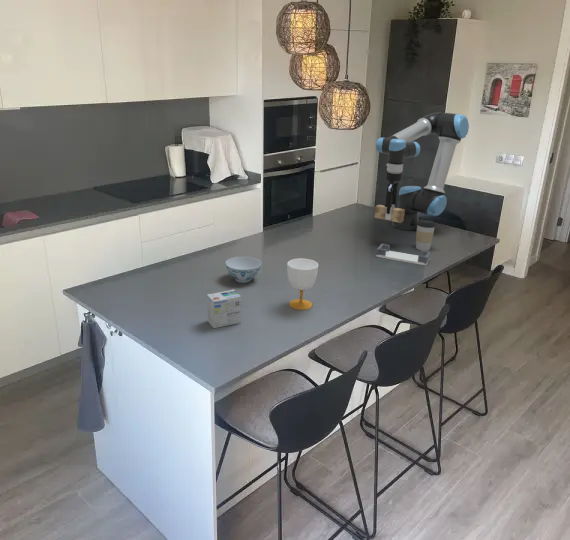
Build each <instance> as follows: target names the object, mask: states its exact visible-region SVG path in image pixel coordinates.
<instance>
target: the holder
mask: <svg viewBox="0 0 570 540" xmlns="http://www.w3.org/2000/svg"><path fill="white" fill-rule="evenodd" d="M390 247H391V244H385V243H381V244H380V245H379V246H378V247H377V248H376V255H375V257H377V258H381V259H388V260H392V261H396V262H397V261H398V262H404V263H410V264H414V265H420V266H427V265H428V263H429V262H430V259H431V254H432V251H430V250H428V251H422V250H420V251H421V253H420V254H418V255H417V254H410V253H405V252H400V251H399V252H398V251H394V250H390Z"/></svg>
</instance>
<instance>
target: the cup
mask: <svg viewBox="0 0 570 540" xmlns="http://www.w3.org/2000/svg"><path fill="white" fill-rule="evenodd" d="M286 268H287V269H286V270H287V279H288V281H289V284H290V285H291V287H292V288H294V289H295V290H297V291H299V298H298V299H293V300H291V301H289V303H288V305H289V307H290V308H292V309H295V310H299V311H305V310H306V311H307V310H309V309H311V308H312V307H313V303H312V302H311V301H309V300H307V299H303V294H304V291H306V290H307V291H308V290H310V289H311V288H312V287H313V286H314V285H315V283H316V280H317V276H318V272H319V263H318V262H317V261H315V260H313V259H309V258H292V259H290V260H289V261H287V263H286Z"/></svg>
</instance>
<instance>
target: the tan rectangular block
mask: <svg viewBox="0 0 570 540" xmlns="http://www.w3.org/2000/svg"><path fill="white" fill-rule="evenodd" d="M404 213H405V209H400V208H397V207H395V206H394V207H392V212H391V220H388V221H389V222H393V221H394V222H398V223H401V222H403V220H404ZM385 214H386V207H385V205H384V204H383V205H382V204H377V205H375V208H374V215H373V217H374V219H379V220H380V219H381V220H383V221H384V220H385V221H387V220H386V219H385Z"/></svg>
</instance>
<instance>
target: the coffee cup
mask: <svg viewBox="0 0 570 540" xmlns="http://www.w3.org/2000/svg"><path fill="white" fill-rule="evenodd" d="M435 227H436V222H434V220H432V219H429V218H427V217H425V218H423V219H419V221H418V222H417V230H416V234H415V235H416V236H415V238H416V239H415V241H416V242H415V248H416V250H418V251H427V252H428V251H431V246H432V242H433V238H434V233H435Z"/></svg>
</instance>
